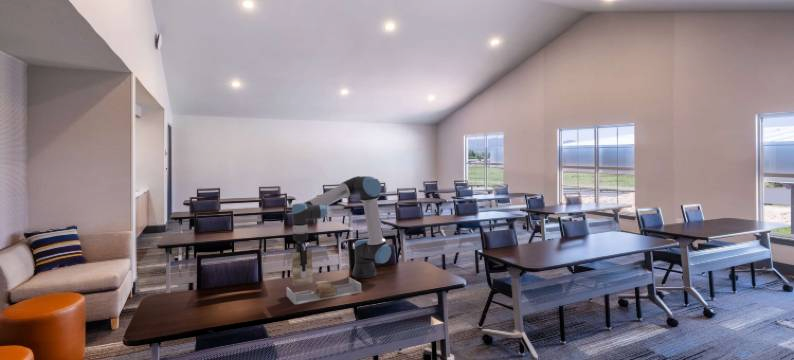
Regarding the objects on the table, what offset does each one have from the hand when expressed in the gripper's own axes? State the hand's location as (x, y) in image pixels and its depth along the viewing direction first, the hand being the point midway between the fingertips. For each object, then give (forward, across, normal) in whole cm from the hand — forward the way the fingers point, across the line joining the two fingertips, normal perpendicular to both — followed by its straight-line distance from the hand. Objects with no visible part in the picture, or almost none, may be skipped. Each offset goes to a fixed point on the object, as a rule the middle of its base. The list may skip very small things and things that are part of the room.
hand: (302, 276), depth 229 cm
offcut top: (+8, 0, +11) cm, 14 cm away
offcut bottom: (+12, 0, +12) cm, 17 cm away
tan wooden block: (+4, 0, 0) cm, 4 cm away
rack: (+13, 0, +12) cm, 17 cm away
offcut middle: (+10, +1, +12) cm, 16 cm away
